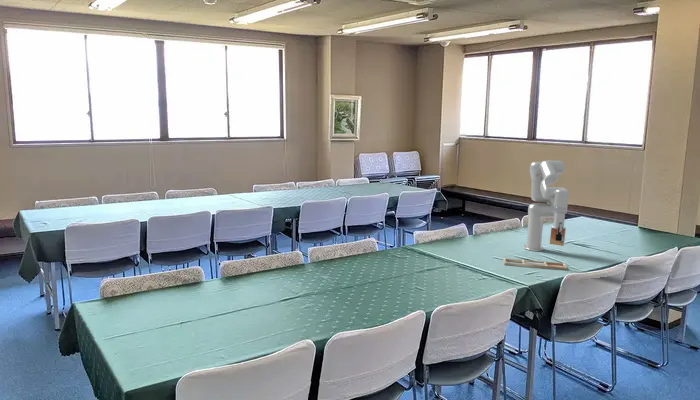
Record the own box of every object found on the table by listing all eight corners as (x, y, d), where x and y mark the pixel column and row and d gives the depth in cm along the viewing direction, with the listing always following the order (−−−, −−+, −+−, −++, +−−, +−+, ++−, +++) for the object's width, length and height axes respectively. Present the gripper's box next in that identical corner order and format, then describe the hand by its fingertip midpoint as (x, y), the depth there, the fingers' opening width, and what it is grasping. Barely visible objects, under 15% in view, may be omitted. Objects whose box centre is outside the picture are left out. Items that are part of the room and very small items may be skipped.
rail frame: (503, 260, 330) (503, 258, 330) (564, 265, 323) (564, 263, 323) (504, 264, 321) (504, 262, 321) (567, 270, 313) (567, 267, 313)
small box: (549, 244, 316) (550, 227, 315) (550, 242, 321) (551, 225, 320) (563, 246, 313) (565, 228, 311) (564, 244, 318) (566, 227, 316)
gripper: (551, 207, 323) (548, 235, 326) (555, 212, 306) (553, 242, 309) (564, 207, 321) (561, 236, 324) (569, 213, 304) (566, 243, 307)
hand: (557, 238), depth 317 cm, fingers closed on small box, 6 cm apart
